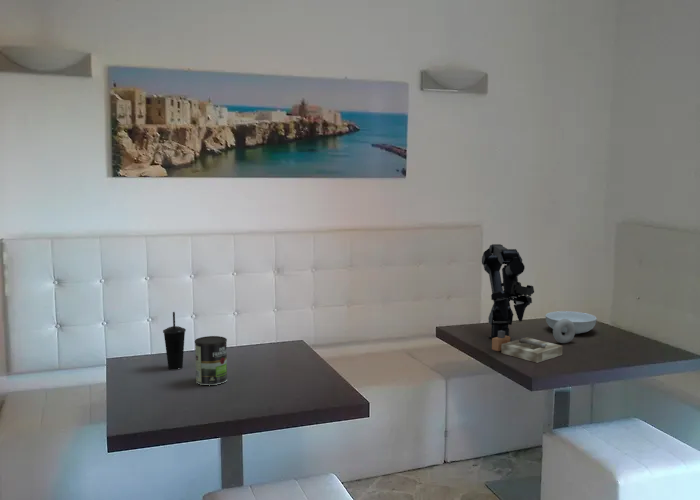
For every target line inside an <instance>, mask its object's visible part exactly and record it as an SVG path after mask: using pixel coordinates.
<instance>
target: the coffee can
mask: <svg viewBox="0 0 700 500" xmlns="http://www.w3.org/2000/svg"><path fill="white" fill-rule="evenodd" d="M227 340H228V338H226V337H224V336H219V335H209V336H208V335H207V336H202V337H198V338H195V339H194V344H195V346H194V348H195V350H194V351H195V354H194V355H195V383H196V384H197V383H198V384H200V385H199V386H201V385H209V386H208V387H211V386H210V385H217V384H221V383H224V382H226V381H227V382H228V358H227V357H228V356H227V355H228V354H227V349H228V348H227V347H228V346H227V342H228V341H227ZM227 382H226V383H227ZM198 384H197V385H198ZM224 384H225V383H224ZM221 385H222V384H221ZM217 386H218V385H217Z"/></svg>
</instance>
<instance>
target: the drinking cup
mask: <svg viewBox="0 0 700 500" xmlns="http://www.w3.org/2000/svg"><path fill="white" fill-rule="evenodd" d="M186 330H187V329H186V328H184V327H183V326H182V327H181V326H178V325H176V312H175V311H173V312H172V326H169V327H166V328H164V329H163V330H162V333H163V337H164V346H165V350H166V351H165V353H166V360H167V361H166V362H167V367H168V368H170V369H178V368H181V367H182V368H183V364H184V354H185V352H184V350H185V348H184V347H185V334H186ZM170 369H169V370H170Z"/></svg>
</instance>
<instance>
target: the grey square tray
mask: <svg viewBox="0 0 700 500" xmlns="http://www.w3.org/2000/svg"><path fill="white" fill-rule="evenodd" d="M563 348H564V347H563V345H560V344H556V343H553V342H548V341H544V340H539V339H535V338H532V337H527V336H526V337H522V338H518V339H515V340H512V341H510V342H508V343H504V344H502V347H501V353H500V354H503V355H506V356H507V355H508V356H511V357H514V358H519V359H521V360H525V361H529V362H533V363H537V364H538V363H541V362H544V361H547V360H550V359H555V358H557V357H559V356H563Z"/></svg>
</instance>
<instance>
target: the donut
mask: <svg viewBox="0 0 700 500" xmlns="http://www.w3.org/2000/svg"><path fill="white" fill-rule="evenodd" d="M564 327H566V328H567V332H566V333H564V334H563V333H562V329H563V328H564ZM575 331H576V330H575V326H574V324H573V322H572V321H570V320H568V319H561V320H559V321H558V322H557V323H556V324H555V325H554V328H553V329H552V335H553V337H554V340H556V342H558V343H560V344H569V342H571V341H572V340H573V339H574V338H575V335H576V334H575Z"/></svg>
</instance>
